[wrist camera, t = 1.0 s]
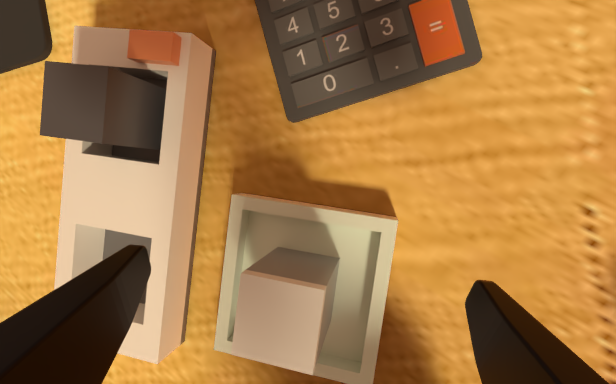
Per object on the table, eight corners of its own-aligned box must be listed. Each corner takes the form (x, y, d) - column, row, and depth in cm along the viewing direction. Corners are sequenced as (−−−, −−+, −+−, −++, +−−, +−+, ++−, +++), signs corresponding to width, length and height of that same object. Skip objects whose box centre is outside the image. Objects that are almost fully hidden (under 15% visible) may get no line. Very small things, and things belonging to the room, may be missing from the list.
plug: (331, 320, 22) (312, 375, 16) (270, 307, 22) (231, 354, 16) (339, 258, 21) (324, 290, 15) (277, 246, 22) (240, 273, 16)
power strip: (184, 341, 24) (114, 400, 18) (88, 316, 26) (-7, 363, 20) (216, 51, 23) (152, 3, 16) (111, 43, 24) (16, -3, 18)
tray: (372, 373, 22) (371, 390, 20) (225, 337, 24) (213, 349, 22) (396, 216, 21) (398, 220, 19) (242, 192, 23) (231, 194, 21)
